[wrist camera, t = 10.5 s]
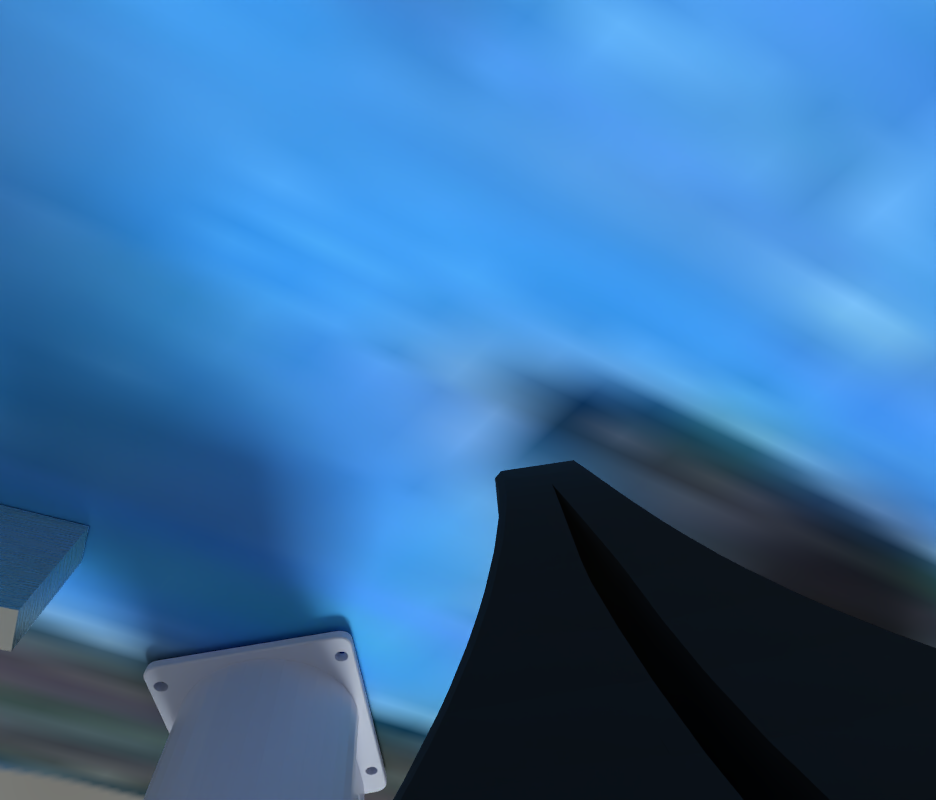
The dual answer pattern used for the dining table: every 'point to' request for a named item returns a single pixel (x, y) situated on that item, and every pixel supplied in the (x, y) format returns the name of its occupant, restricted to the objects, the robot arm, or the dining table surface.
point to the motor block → (33, 566)
